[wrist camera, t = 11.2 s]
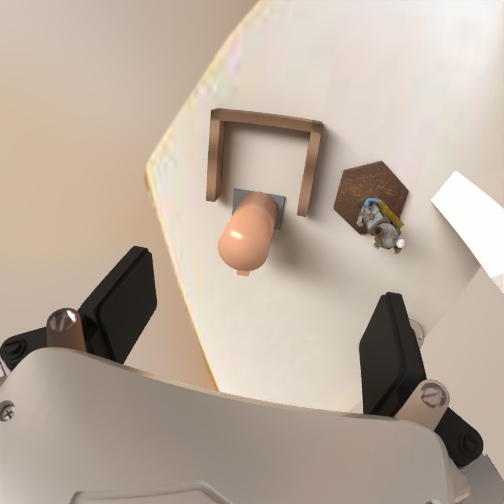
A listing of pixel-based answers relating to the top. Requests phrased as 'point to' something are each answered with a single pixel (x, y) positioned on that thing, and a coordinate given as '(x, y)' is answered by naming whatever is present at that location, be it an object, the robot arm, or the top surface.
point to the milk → (475, 223)
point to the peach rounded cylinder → (249, 233)
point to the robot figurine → (373, 203)
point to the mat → (278, 199)
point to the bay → (263, 119)
